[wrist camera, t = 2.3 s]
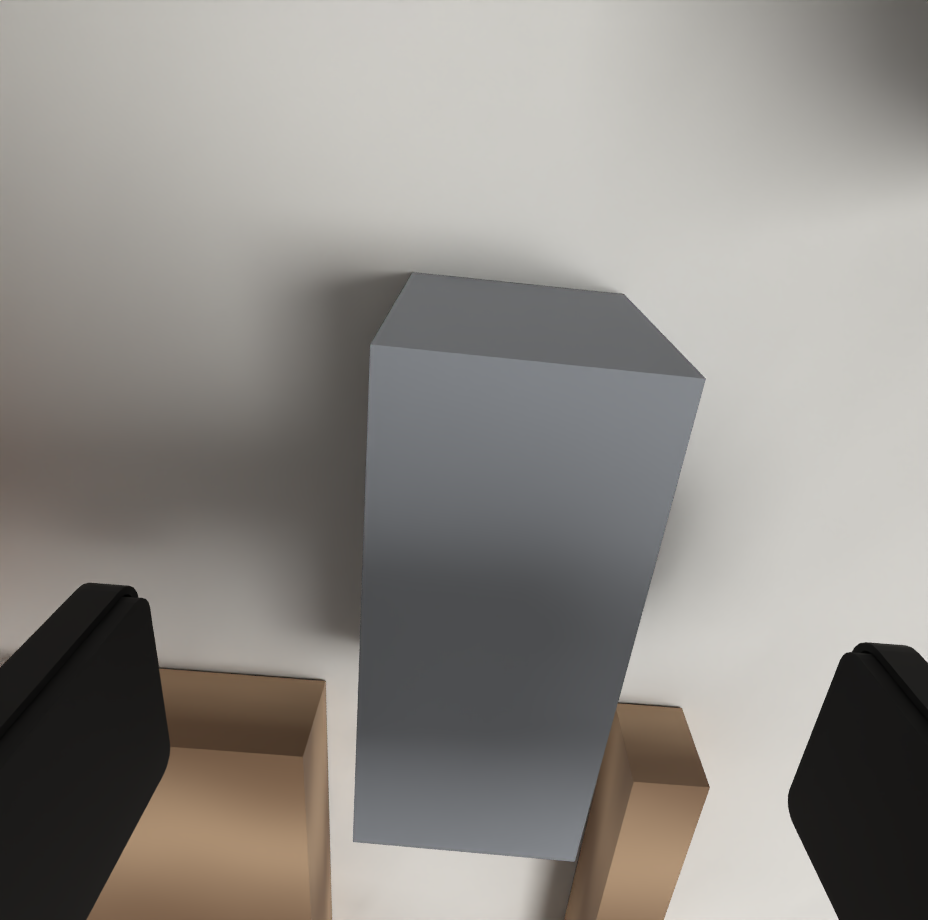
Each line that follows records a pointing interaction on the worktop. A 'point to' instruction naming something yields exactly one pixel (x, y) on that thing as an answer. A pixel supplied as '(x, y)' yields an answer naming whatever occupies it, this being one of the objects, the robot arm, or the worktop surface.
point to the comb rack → (307, 810)
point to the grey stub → (506, 555)
